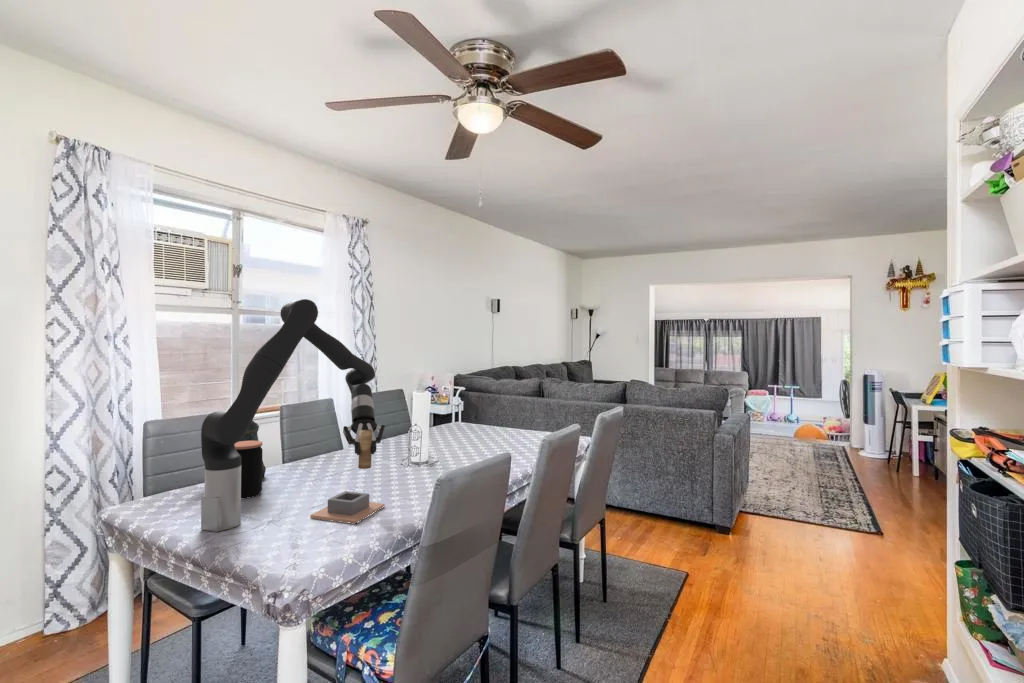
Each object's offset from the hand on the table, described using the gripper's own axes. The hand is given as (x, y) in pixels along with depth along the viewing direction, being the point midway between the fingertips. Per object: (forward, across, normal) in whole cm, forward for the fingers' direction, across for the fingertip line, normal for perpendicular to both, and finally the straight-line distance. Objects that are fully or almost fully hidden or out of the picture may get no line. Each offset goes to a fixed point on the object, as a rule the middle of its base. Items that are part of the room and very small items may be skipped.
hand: (365, 453), depth 159 cm
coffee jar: (-9, -37, +35) cm, 52 cm away
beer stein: (-23, -41, +50) cm, 68 cm away
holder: (+13, -5, +12) cm, 19 cm away
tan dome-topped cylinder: (+2, 0, +5) cm, 5 cm away
